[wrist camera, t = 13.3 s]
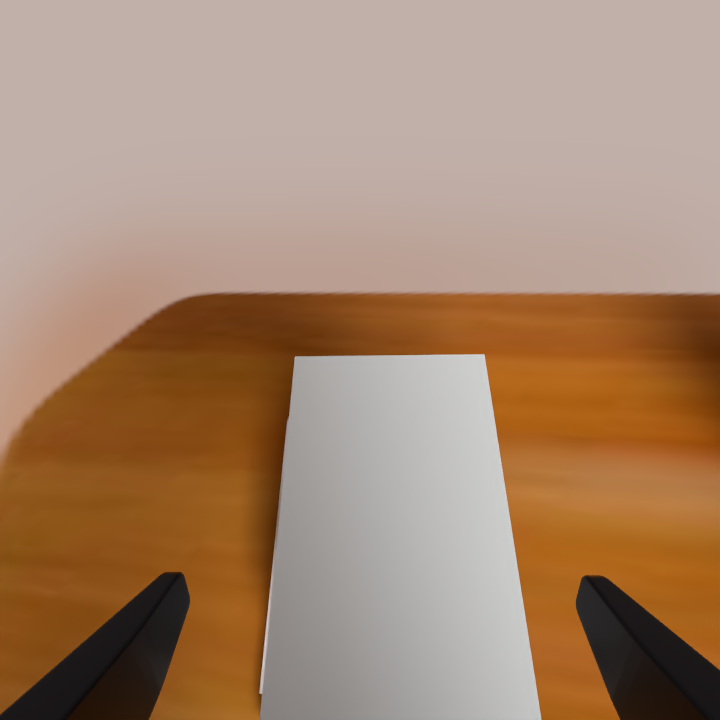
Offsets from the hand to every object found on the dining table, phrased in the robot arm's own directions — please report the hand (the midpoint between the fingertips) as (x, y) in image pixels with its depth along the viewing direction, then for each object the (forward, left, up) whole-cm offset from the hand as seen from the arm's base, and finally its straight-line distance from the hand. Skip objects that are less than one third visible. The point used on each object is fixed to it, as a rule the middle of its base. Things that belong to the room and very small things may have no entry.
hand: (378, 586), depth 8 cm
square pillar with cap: (+1, 0, -8) cm, 8 cm away
